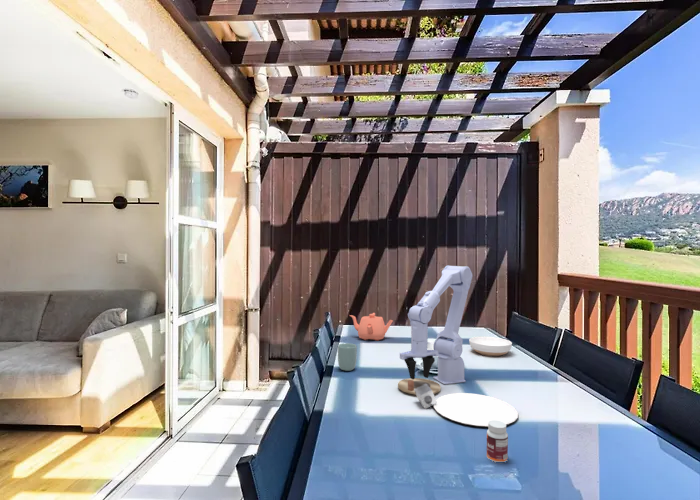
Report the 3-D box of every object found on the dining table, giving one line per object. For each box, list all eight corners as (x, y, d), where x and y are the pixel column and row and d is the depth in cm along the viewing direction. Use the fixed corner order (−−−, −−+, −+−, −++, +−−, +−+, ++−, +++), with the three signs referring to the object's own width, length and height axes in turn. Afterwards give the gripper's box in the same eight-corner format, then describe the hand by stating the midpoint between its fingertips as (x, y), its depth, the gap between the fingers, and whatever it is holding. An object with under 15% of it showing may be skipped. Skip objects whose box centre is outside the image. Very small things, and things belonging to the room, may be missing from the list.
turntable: (410, 377, 150) (410, 367, 150) (447, 386, 141) (447, 375, 141) (389, 388, 138) (389, 377, 138) (428, 398, 129) (428, 387, 129)
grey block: (426, 383, 129) (432, 390, 123) (431, 395, 129) (437, 403, 123) (413, 389, 129) (419, 396, 122) (419, 401, 129) (424, 409, 122)
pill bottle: (483, 454, 96) (483, 419, 96) (501, 453, 96) (502, 419, 96) (491, 464, 91) (492, 428, 91) (511, 463, 92) (511, 427, 92)
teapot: (348, 337, 221) (348, 313, 221) (373, 333, 232) (374, 310, 232) (368, 344, 206) (369, 318, 206) (394, 339, 217) (394, 314, 217)
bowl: (515, 352, 193) (515, 339, 193) (507, 361, 176) (507, 348, 176) (474, 346, 203) (475, 334, 203) (464, 355, 186) (464, 342, 186)
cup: (354, 373, 158) (354, 348, 158) (335, 371, 160) (335, 347, 160) (358, 367, 166) (358, 343, 166) (340, 366, 167) (340, 342, 167)
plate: (475, 439, 104) (475, 432, 104) (417, 405, 126) (417, 400, 126) (537, 420, 116) (537, 414, 116) (473, 392, 138) (473, 388, 138)
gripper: (431, 336, 146) (431, 372, 146) (396, 338, 141) (395, 376, 141) (441, 340, 139) (441, 378, 139) (405, 343, 135) (404, 382, 135)
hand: (419, 377), depth 140 cm, fingers open, 5 cm apart
